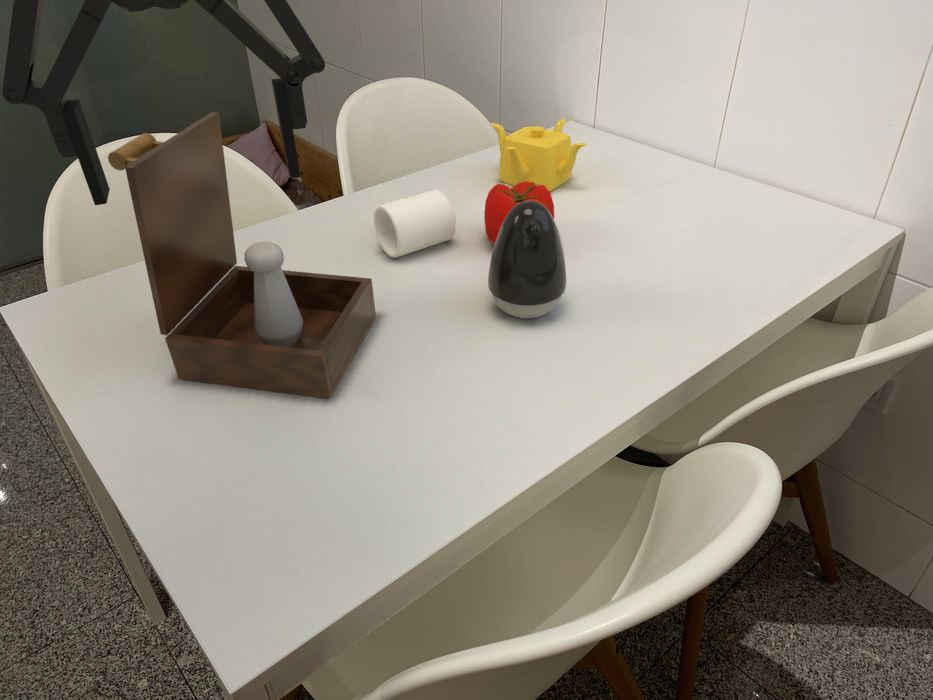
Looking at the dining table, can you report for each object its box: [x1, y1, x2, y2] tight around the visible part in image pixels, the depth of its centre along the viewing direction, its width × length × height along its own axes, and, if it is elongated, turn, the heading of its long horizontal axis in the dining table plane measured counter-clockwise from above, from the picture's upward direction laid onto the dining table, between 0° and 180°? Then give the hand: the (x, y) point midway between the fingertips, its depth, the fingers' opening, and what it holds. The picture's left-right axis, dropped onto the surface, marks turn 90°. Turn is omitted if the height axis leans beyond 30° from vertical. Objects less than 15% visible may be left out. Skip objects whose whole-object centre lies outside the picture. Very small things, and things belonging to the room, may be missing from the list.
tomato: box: [483, 181, 555, 246], centre depth 106 cm, size 11×12×9 cm
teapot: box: [490, 118, 588, 193], centre depth 126 cm, size 15×14×10 cm
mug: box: [373, 189, 457, 259], centre depth 107 cm, size 12×10×8 cm
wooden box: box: [164, 265, 377, 400], centre depth 86 cm, size 19×17×6 cm
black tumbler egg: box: [487, 201, 567, 319], centre depth 89 cm, size 10×10×15 cm
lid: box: [107, 111, 238, 337], centre depth 80 cm, size 20×17×7 cm
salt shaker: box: [244, 241, 303, 347], centre depth 83 cm, size 6×6×13 cm
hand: (201, 184), depth 52 cm, fingers open, 13 cm apart
